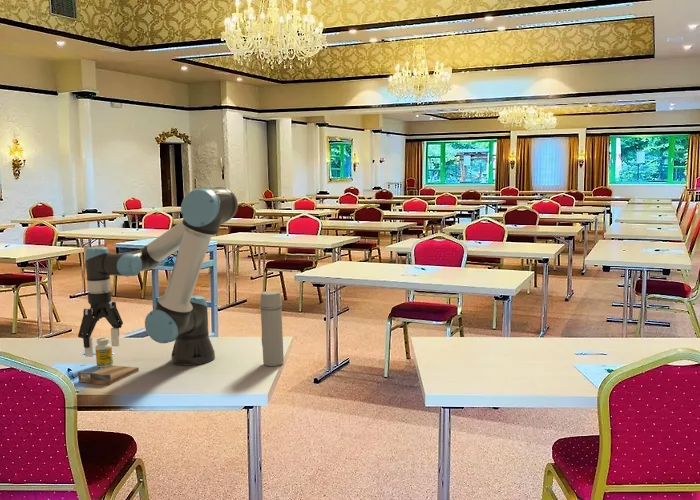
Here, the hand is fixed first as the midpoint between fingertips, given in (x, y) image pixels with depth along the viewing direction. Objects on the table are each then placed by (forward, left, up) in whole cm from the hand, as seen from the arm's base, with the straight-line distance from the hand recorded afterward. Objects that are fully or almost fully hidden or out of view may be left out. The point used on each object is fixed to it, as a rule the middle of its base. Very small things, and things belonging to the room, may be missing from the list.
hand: (102, 351), depth 229 cm
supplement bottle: (0, 0, -5) cm, 5 cm away
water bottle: (-57, -16, -5) cm, 60 cm away
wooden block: (-10, +10, -5) cm, 15 cm away
